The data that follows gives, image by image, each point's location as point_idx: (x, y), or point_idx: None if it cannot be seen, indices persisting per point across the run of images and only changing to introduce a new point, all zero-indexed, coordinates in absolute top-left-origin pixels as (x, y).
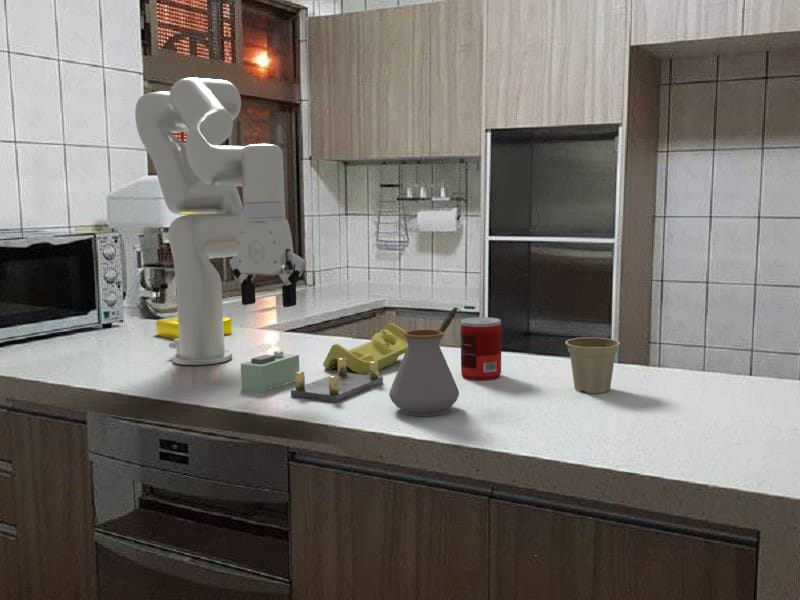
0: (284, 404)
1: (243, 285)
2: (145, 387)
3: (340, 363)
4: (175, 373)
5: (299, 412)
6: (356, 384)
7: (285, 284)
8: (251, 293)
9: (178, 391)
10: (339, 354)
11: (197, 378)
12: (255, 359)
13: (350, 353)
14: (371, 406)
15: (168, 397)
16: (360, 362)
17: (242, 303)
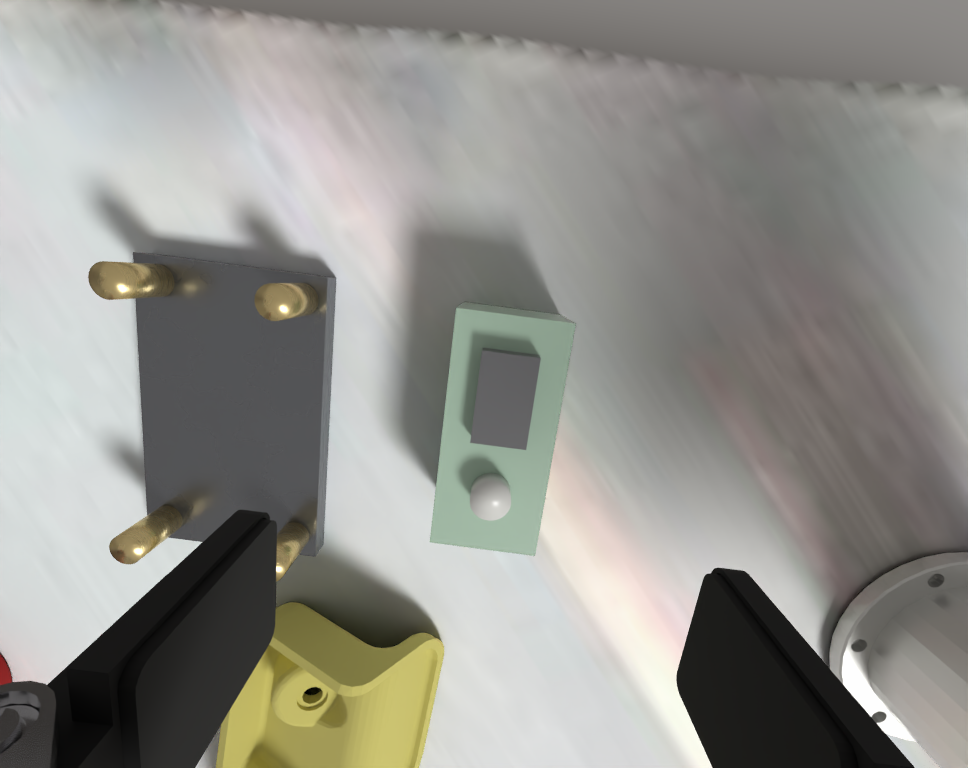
0: (297, 175)
1: (852, 745)
2: (944, 217)
3: None
4: (936, 443)
5: (187, 95)
6: (165, 418)
7: (52, 698)
8: (731, 729)
9: (776, 206)
10: (343, 653)
11: (809, 402)
12: (516, 354)
13: (291, 652)
14: (25, 253)
15: (766, 111)
16: None
17: (740, 570)
